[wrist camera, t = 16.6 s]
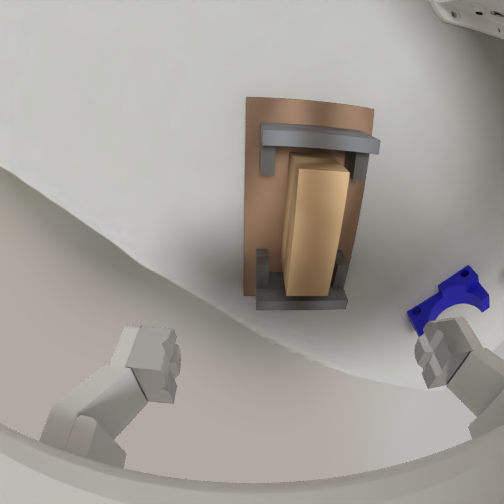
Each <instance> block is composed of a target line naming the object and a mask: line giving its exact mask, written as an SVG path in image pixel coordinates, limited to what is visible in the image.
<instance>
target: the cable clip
mask: <svg viewBox="0 0 504 504" xmlns="http://www.w3.org/2000/svg"><path fill="white" fill-rule="evenodd" d="M438 287H439V291H440V292H438V293H437V294H435V295H434V296H432V297H430V298H429V299H427V300H426V301H424V302H422V303H421V304H419V305H418V306H416V307H414V308H413V309H411V310H409V311H407V313H408V315H409V318H410V321H411V323H412V325H413V327H414V329H415V331H416V332H417V334H418V336H419V337H421V336H422V335H423V334H424V331H423V328H424V326H425V325H426V323H428V322H429V321H434V320H436V318H437V317H438V315H439V314H440V313H441V312H442V311H444V310H445V309H446V308H448V307H450V306H452V305H455V304H461V303H465V304H471V305H473V306H475V307H477V308H478V309H479V310H480V311H481V312H484V311H485V310H486V309H488V308H489V294H488V293H487V292H486V291H485V289H484V288H483V287H482V286H481V284H480V283H479V279H478V275H477V274H476V273H475V272H474V270H473V269H472V268H471V267H470V266H469V265H468V266H466V267H465V268H463V269H462V270H460V271H459V272H457V273H456V274H455V275H453V276H452V277H450V278H449V279H447V280H446V281H444V282H443V283H441V284H439V285H438Z"/></svg>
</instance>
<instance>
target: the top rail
mask: <svg viewBox="0 0 504 504" xmlns="http://www.w3.org/2000/svg"><path fill="white" fill-rule="evenodd" d="M349 175H350V172H349V171H348V170H347V169H346V168H345V167H344V166H343V165H342V164H340V163H339V162H338V161H337V160H336V159H335V158H334V157H333V156H332V155H331V154H319V153H305V152H289V161H288V176H287V190H286V204H285V217H284V229H283V241H282V253H281V265H282V271H283V277H284V284H285V290H286V296H328V292H329V288H330V283H331V279H332V274H333V269H334V264H335V259H336V254H337V249H338V243H339V238H340V232H341V227H342V221H343V215H344V209H345V203H346V196H347V189H348V183H349Z"/></svg>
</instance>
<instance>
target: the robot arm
mask: <svg viewBox="0 0 504 504" xmlns="http://www.w3.org/2000/svg"><path fill="white" fill-rule="evenodd" d="M428 1H429V3H430V5H431V6H432V8H433V10H434V12H435V13H436V15H437V16H438V17H439V19H441V20H442V21H443V22H445V23H449V24H453V25H457V26H461V27H465V28H469V29H472V30H475V31H479V32H482V33H485V34H488V35H491V36H494V37H497V38H500V39H503V40H504V0H428ZM452 13H453V14H454V17H453V16H452ZM423 331H424V334H423V335H422V336H421V337H419V338H418V340H417V342H416V344H415V352H414V353H415V358H416V361H417V363H418V365H420V366H421V367H422V368H423V372H422V375H423V378H424V380H425V383H426V385H427V388H428V389H430V388H434V387H439V386H444V385H447V387H448V388H449V389H450V390H451V391H452V392H453V393H454V394H455V395H456V396H457V397H458V398H459V399H460V400H461V401H462V402H463V403H464V404H465V405H466V406H467V407H468V408H469V409H470V410H471V411H472V412H473V413H474V414H475V415H476V416H477V418H476V419H475V420H474V421H473V422H471V423H470V425H469V427H468V428H469V431H470V433H471V436H472V440H469V441H467V442H464V443H462V444H460V445H457V446H455V447H452V448H449V449H446V450H444V451H441V452H438V453H435V454H432V455H429V456H426V457H423V458H420V459H416V460H413V461H409V462H406V463H402V464H399V465H395V466H391V467H387V468H383V469H378V470H373V471H369V472H364V473H359V474H353V475H347V476H341V477H334V478H327V479H318V480H308V481H296V482H280V483H226V482H209V481H198V480H187V479H180V478H172V477H165V476H159V475H153V474H148V473H142V472H137V471H133V470H128V469H124V463H125V458H126V453H125V451H124V450H123V449H122V448H121V447H120V446H119V445H118V444H117V443H116V442H115V441H114V439H115V438H116V437H117V436H118V435H119V434H120V433H121V432H122V431H123V429H124V428H125V427H126V426H127V425H128V424H129V423H130V422H131V421H132V420H133V419H134V418H135V416H136V415H137V414H138V413H139V412H140V411H141V410H142V409H143V408H144V407H145V406H146V404H147V403H148V402H147V401H150V402H159V403H171V404H174V399H175V394H176V389H177V385H176V382H175V378H176V377H177V376H178V375H179V373H180V367H181V354H180V348H179V346H178V345H177V344H175V342H176V338H177V336H176V333H175V330H174V329H171V328H161V327H149V326H138V325H128V324H127V325H126V326H125V327H124V329H123V331H122V334H121V337H120V339H119V341H118V344H117V346H116V349H115V352H114V354H113V357H112V359H111V362H110V364H109V365H104V366H102V367H101V368H100V369H99V370H97V371H96V372H95V373H93V374H92V375H91V376H90V377H88V378H87V379H86V380H84V381H83V382H82V383H81V384H79V385H78V386H77V387H75V388H74V389H73V390H72V391H70V392H69V393H68V394H66V395H65V396H64V397H63V398H61V399H60V400H59V401H58V402H56V403H55V404H54V405H53V406H52V408H51V411H50V413H49V416H48V418H47V421H46V424H45V426H44V429H43V432H42V435H41V438H40V440H39V441H37V440H35V439H32V438H30V437H28V436H25V435H23V434H21V433H19V432H17V431H15V430H12V429H11V428H8V427H6V426H5V425H2V424H0V504H504V360H503V359H501V358H500V357H498V356H497V355H496V354H494V353H493V352H491V351H490V350H488V349H487V348H483V347H482V345H481V343H480V342H479V340H478V338H477V337H476V335H475V333H474V332H473V330H472V328H471V327H470V325H469V324H468V322H467V321H466V319H465V318H463V317H456V318H448V319H441V320H434V321H429V322H428V323H426V325H425V326H424V328H423Z"/></svg>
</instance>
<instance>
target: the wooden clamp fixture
mask: <svg viewBox="0 0 504 504" xmlns="http://www.w3.org/2000/svg"><path fill="white" fill-rule="evenodd" d="M373 118H374V109H371V108H365V107H359V106H353V105H346V104H338V103H330V102H321V101H311V100H299V99H285V98H264V97H246V145H245V211H244V296H256V310H329V309H346V305H347V302H348V299H347V297H346V294H345V292H344V289H343V288H344V284H345V280H346V275H347V271H348V267H349V263H350V258H351V254H352V249H353V244H354V240H355V235H356V230H357V225H358V220H359V214H360V209H361V203H362V198H363V192H364V186H365V179H366V173H367V166H368V159H369V153H370V154H378V155H379V148H380V140H378V139H376V138H374V137H372V127H373ZM289 152H305V153H319V154H331V155H332V156H333V157H334V158H335V159H336V160H337V161H338V162H339V163H340V164H342V165H343V166H344V167H345V168H346V169H347V170H348V171H349V172H350V175H349V183H348V189H347V196H346V203H345V209H344V215H343V221H342V227H341V232H340V238H339V243H338V249H337V254H336V259H335V264H334V269H333V274H332V279H331V283H330V288H329V292H328V296H286V290H285V284H284V277H283V271H282V265H281V253H282V241H283V229H284V217H285V204H286V190H287V176H288V161H289Z"/></svg>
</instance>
